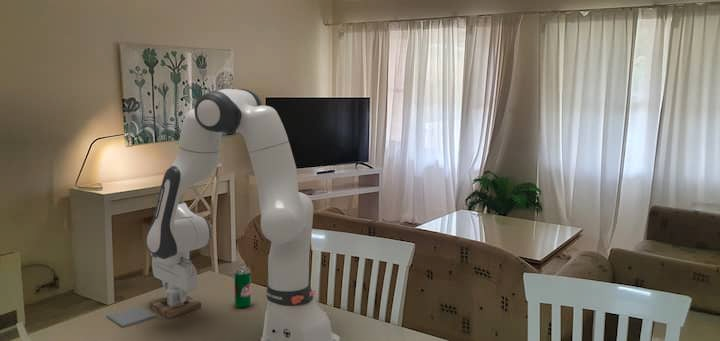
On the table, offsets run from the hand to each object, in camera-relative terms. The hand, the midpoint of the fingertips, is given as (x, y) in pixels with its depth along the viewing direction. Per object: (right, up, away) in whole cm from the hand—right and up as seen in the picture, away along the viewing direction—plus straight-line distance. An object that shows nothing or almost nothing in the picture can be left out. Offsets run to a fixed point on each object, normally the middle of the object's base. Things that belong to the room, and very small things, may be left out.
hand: (175, 297), depth 167 cm
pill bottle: (0, -4, +1) cm, 4 cm away
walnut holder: (0, -3, 0) cm, 3 cm away
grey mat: (-11, -4, -7) cm, 13 cm away
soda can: (+20, -4, +4) cm, 21 cm away
